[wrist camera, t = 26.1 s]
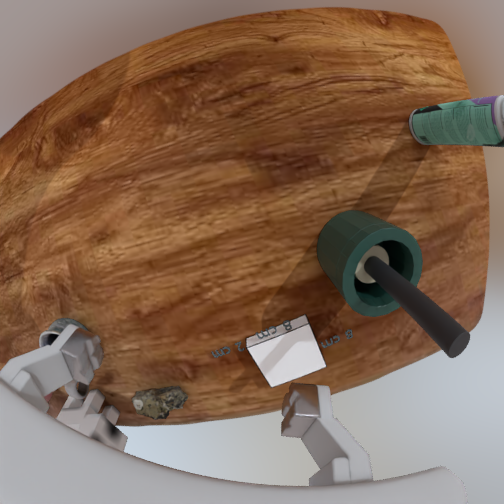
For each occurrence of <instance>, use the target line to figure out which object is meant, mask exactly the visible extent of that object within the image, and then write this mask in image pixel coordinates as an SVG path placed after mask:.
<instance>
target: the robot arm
mask: <svg viewBox="0 0 504 504" xmlns="http://www.w3.org/2000/svg"><path fill="white" fill-rule="evenodd" d="M100 342H101V340H100V337H99V336H98V335H96V334H93V333H91V332H89V331H86V330H84V329H82V328H80V327H77V326H75V325H73V324H70V325H68V326H67V327H66V328H65V329H64V330H63V332H62V333H61V334H60V335H59V336H58V337H57V339H56V340H55V341H54V342H53V343H52V345H51V346H50V345H47V346H44V347H41V348H39V349H36V350H33V351H31V352H28V353H25V354H23V355H20V356H17V357H15V358H12V359H10V360H9V361H8V362H7V364H6V365H5V366H4V367H3V369H2V370H1V371H0V504H468V500H467V494H466V489H465V486H464V484H463V482H462V481H461V480H460V479H459V478H458V477H457V476H456V475H455V474H453V473H452V472H451V471H450V470H449V469H447V468H446V467H443V466H440V467H435V468H432V469H428V470H425V471H421V472H417V473H413V474H408V475H404V476H399V477H395V478H389V479H383V480H377V481H373V476H372V469H371V462H370V456H369V454H368V453H367V452H366V451H365V450H364V448H363V447H362V446H361V445H360V444H359V443H358V442H357V441H356V440H355V438H354V437H353V436H352V435H351V434H350V433H349V432H348V430H347V429H346V428H345V427H344V426H343V425H342V424H341V423H340V421H339V420H338V419H337V418H334V417H333V410H332V403H331V395H330V389H329V387H328V386H323V385H314V384H303V383H293V382H292V383H291V385H290V387H289V392H288V393H286V395H285V397H284V400H283V404H282V415H283V416H284V419H283V421H282V424H281V425H282V426H281V436H286V437H297V438H301V440H302V441H303V443H304V444H305V446H306V447H307V449H308V451H309V452H310V454H311V456H312V457H313V459H314V460H315V462H316V463H317V465H318V466H319V468H320V469H321V470H319V471H318V472H317V473H316V474H314V475H313V476H312V477H311V478H309V486H280V485H279V486H278V485H264V484H253V483H245V482H237V481H230V480H224V479H218V478H212V477H207V476H202V475H198V474H193V473H189V472H185V471H181V470H177V469H173V468H170V467H166V466H163V465H160V464H156V463H153V462H150V461H147V460H144V459H141V458H138V457H136V456H133V455H130V454H128V453H125V452H122V451H120V450H117V449H115V448H113V447H110V446H108V445H106V444H103V443H101V442H99V441H97V440H95V439H92V438H90V437H88V436H86V435H84V434H82V433H80V432H78V431H76V430H75V429H73V428H71V427H69V426H67V425H65V424H64V423H62V422H60V421H58V420H57V419H55V418H53V417H52V416H50V415H48V414H47V413H46V412H47V410H48V409H49V404H48V403H47V401H46V400H45V398H44V396H46V395H48V394H50V393H51V392H53V391H55V390H56V389H58V388H60V387H62V386H63V385H65V384H67V383H68V382H70V381H72V380H73V379H75V380H77V381H79V382H82V383H84V384H86V385H89V383H90V382H91V380H92V378H93V377H94V375H95V374H94V370H95V369H98V368H99V367H100V365H101V364H102V361H103V357H104V352H103V348H102V347H101V346H100V345H99V343H100Z"/></svg>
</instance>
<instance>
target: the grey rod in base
mask: <svg viewBox="0 0 504 504" xmlns="http://www.w3.org/2000/svg"><path fill="white" fill-rule="evenodd" d="M355 276H356V277H357V278H358V279H359V280H360V281H361V282H363V283H373V282H377V283H378V284H379V285H380V286H381V287H382V288H383V289H384V290H385V291H386V292H387V293H388V294H389V295H390V296H391V297H392V298H393V299H394V300H395V301H396V302H397V303H398V304H399V305H400V306H401V307H402V308H403V309H404V310H405V311H406V312H407V313H408V314H409V315H410V316H411V317H412V318H413V319H414V320H415V321H416V322H417V323H418V324H419V325H420V326H421V327H422V328H423V329H424V330H425V331H426V332H427V333H428V335H429V336H430V337H431V338H432V339H433V340H434V341H435V342H436V343H437V344H438V345H439V346H440V348H441V349H442V350H443V351H444V352H445V353H446V354H447V355H448V356H449V357H450V358H454V357H456V356H458V355H459V354H461V353H462V351H463V350H464V349H465V348H466V346H467V345H468V343H469V340H470V334H469V332H467V331H466V330H465V329H464V328H463V327H462V326H461V325H460V324H459V323H458V322H456V321H455V320H454V319H453V318H452V317H451V316H450V315H449V314H447V313H446V312H445V311H444V310H443V309H442V308H440V307H439V306H438V305H437V304H436V303H435V302H433V301H432V300H431V299H430V298H429V297H427V296H426V295H425V294H424V293H423V292H421V291H420V290H419V289H418V288H417V287H415V286H414V285H413V284H412V283H410V282H409V281H408V280H407V279H405V278H404V277H403V276H402V275H400V274H399V273H398V272H396V271H395V270H394V269H393V268H391V267H390V266H389V257H388V254H387V252H386V250H385V249H384V248H382V247H381V246H379V245H378V244H376V245H374V246H373V247H371V248H370V249H369V250H368V251H367V252H366V253H365V254H364V255H363V257H362V258H361V260H360V261H359V263H358V266H357V269H356V272H355Z"/></svg>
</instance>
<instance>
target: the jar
mask: <svg viewBox="0 0 504 504" xmlns="http://www.w3.org/2000/svg"><path fill="white" fill-rule="evenodd" d="M376 244H378V245H379V246H381V247H382V248H384V249H385V250H386V252H387V254H388V257H389V266H390V267H391V268H393V269H394V270H395V271H396V272H398V273H399V274H400V275H402V276H403V277H404V278H405V279H407V280H408V281H409V282H410V283H412V284H413V285H414V286H415V287H417V284H418V282H419V279H420V277H421V271H422V264H423V260H422V253H421V249H420V247H419V245H418V243H417V241H416V239H415V238H414V237H413V236H412V235H411V234H409V233H408V232H407V231H406V230H403V229H401V228H399V227H397V226H395V225H393V224H391V223H389V222H386V221H384V220H382V219H380V218H378V217H375V216H373V215H371V214H368V213H365V212H363V211H358V210H349V211H345V212H342V213H340V214H338V215H336V216H335V217H333V218H332V219H331V220H330V221H329V222H328V223H327V224H326V225H325V226H324V228H323V229H322V231H321V233H320V236H319V239H318V243H317V256H318V260H319V263H320V265H321V267H322V269H323V270H324V272H325V273H326V274H327V276H328V277H329V278H330V280H331V281H332V282H333V284H334V285H335V287H336V288H337V289H338V291H339V292H340V293H341V295H342V296H343V298H344V299H345V300H346V302H347V303H348V304H349V305H350V307H351V308H352V309H353V310H354V311H356V312H358V313H360V314H361V315H364V316H372V317H376V316H381V315H385V314H388V313H390V312H392V311H394V310H396V309H398V308H399V307H400V305H399V304H398V303H397V302H396V301H395V300H394V299H393V298H392V297H391V296H390V295H389V294H388V293H387V292H386V291H385V290H384V289H383V288H382V287H381V286H380V285H379V284H378V283H377V282H373V283H363V282H361V281H360V280H359V279H358V278H357V277H356V276H355V272H356V269H357V266H358V263H359V261H360V260H361V258H362V257H363V255H364V254H365V253H366V252H367V251H368V250H369V249H370V248H371V247H373V246H374V245H376Z"/></svg>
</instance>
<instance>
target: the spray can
mask: <svg viewBox="0 0 504 504" xmlns="http://www.w3.org/2000/svg"><path fill="white" fill-rule="evenodd" d="M409 127H410V131H411V133H412V135H413V137H414V138H415V139H416V140H417V141H418V142H419V143H421V144H424V145H475V146H493V147H494V146H495V147H504V95H501V96H492V97H483V98H476V99H469V100H462V101H456V102H450V103H445V104H439V105H434V106H429V107H424V108H420V109H416V110H414V111H413V112H412V113H411V115H410V118H409Z"/></svg>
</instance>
